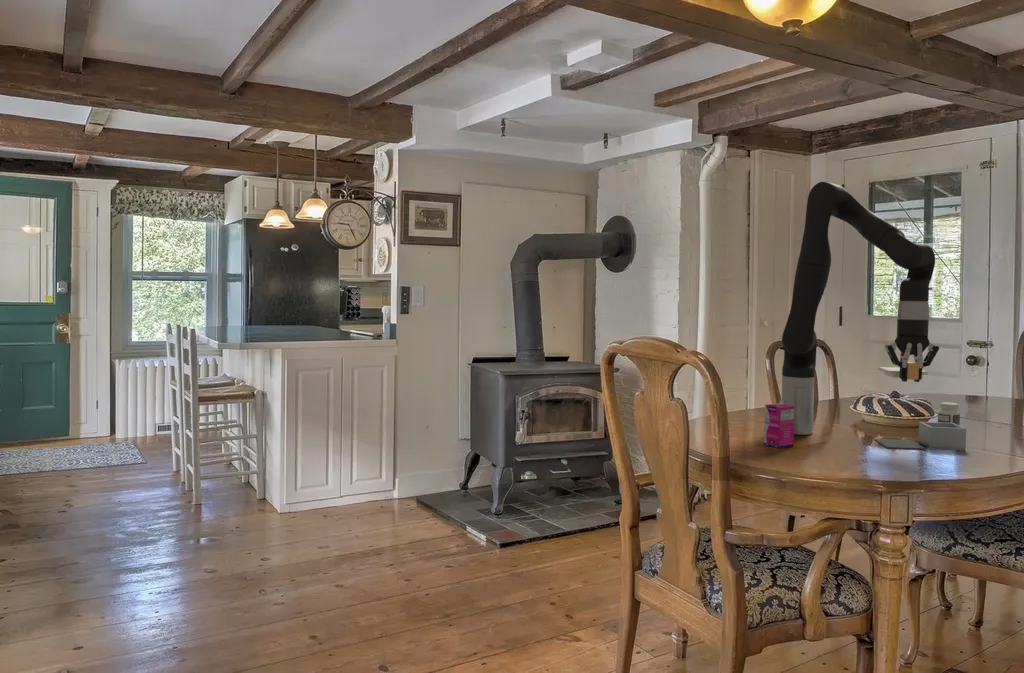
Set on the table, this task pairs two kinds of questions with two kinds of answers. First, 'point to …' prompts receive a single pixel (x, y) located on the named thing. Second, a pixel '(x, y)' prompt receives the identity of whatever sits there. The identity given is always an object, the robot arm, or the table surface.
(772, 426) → the supplement box
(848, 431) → the table surface
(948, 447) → the tub
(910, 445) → the mat
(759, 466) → the table surface
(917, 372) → the lid
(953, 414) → the pill bottle
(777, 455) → the table surface
